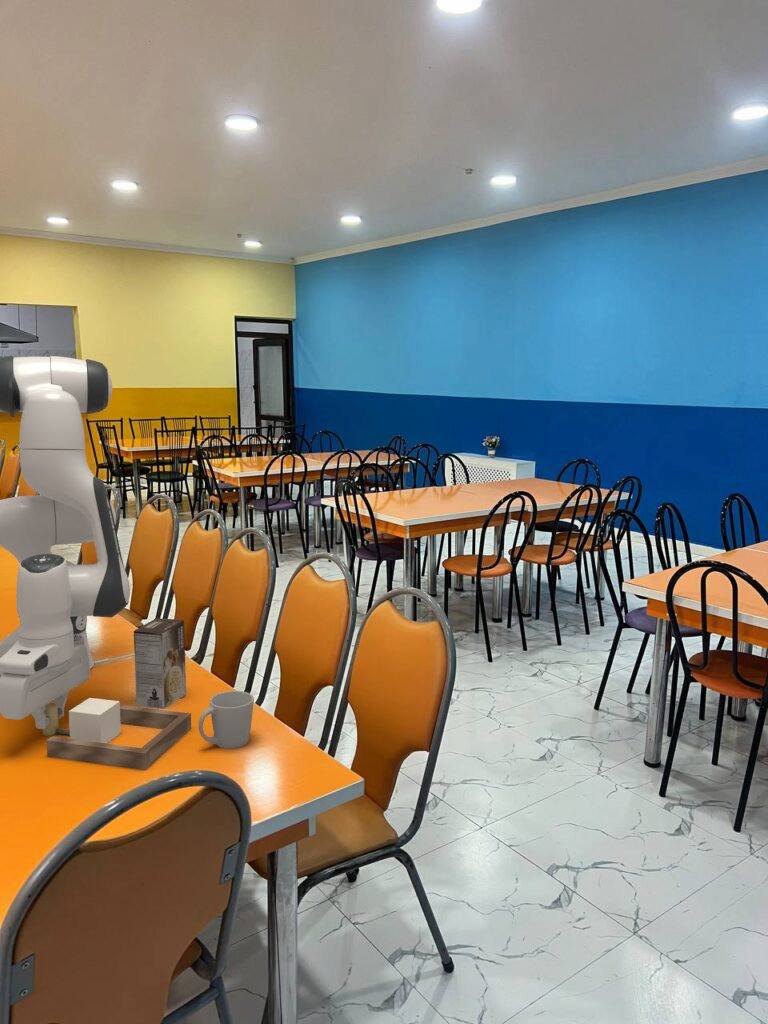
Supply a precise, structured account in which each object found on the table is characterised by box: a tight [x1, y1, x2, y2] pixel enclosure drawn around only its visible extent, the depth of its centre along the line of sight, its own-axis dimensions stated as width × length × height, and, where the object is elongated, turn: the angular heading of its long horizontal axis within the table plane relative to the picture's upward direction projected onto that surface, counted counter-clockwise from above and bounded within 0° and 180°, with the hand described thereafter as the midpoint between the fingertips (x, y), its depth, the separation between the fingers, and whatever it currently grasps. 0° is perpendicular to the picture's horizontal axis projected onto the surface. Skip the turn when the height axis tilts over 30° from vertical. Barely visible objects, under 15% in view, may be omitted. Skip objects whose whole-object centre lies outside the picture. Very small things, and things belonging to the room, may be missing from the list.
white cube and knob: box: [42, 697, 122, 744], centre depth 131 cm, size 13×6×6 cm, turn 78°
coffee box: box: [133, 617, 187, 710], centre depth 147 cm, size 9×6×16 cm
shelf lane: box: [45, 704, 192, 771], centre depth 129 cm, size 18×16×4 cm
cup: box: [198, 690, 255, 750], centre depth 129 cm, size 8×10×8 cm
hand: (50, 722), depth 132 cm, fingers closed on white cube and knob, 3 cm apart
